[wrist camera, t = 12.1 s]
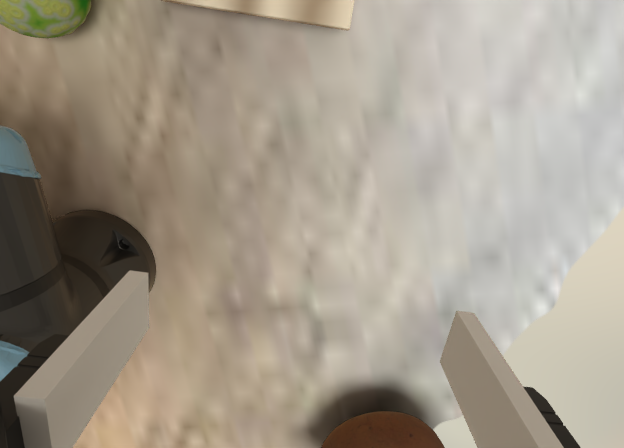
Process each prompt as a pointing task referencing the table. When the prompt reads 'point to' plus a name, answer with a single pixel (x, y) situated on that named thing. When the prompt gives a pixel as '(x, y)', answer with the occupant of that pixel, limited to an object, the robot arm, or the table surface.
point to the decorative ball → (43, 16)
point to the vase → (383, 432)
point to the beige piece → (286, 10)
